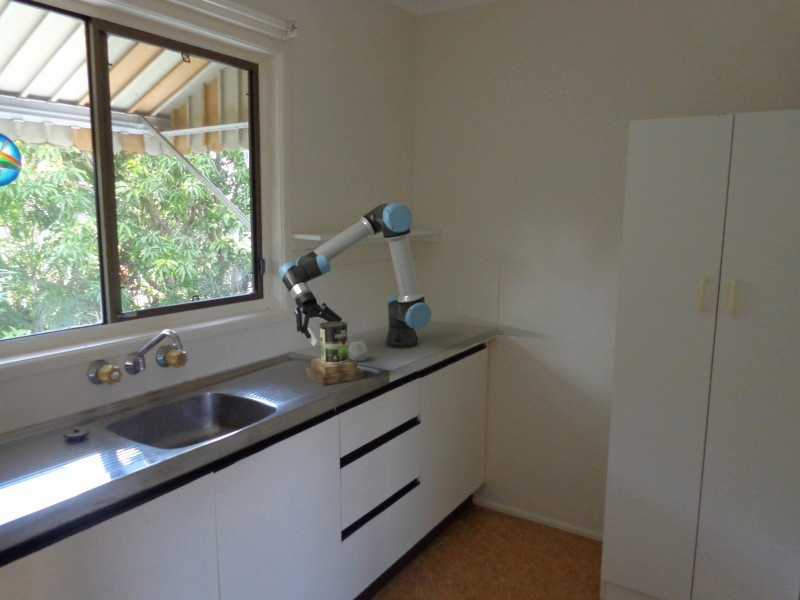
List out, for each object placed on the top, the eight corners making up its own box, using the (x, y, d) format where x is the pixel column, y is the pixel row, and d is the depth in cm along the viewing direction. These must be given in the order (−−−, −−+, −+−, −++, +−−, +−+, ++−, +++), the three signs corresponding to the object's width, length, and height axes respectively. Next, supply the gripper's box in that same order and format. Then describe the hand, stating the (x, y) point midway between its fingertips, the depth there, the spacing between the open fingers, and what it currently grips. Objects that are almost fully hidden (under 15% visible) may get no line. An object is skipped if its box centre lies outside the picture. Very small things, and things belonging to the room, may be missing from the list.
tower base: (344, 368, 230) (344, 353, 229) (363, 378, 216) (363, 362, 215) (306, 375, 222) (305, 359, 221) (323, 385, 208) (322, 369, 207)
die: (360, 365, 236) (372, 345, 237) (341, 354, 237) (354, 334, 238) (361, 367, 244) (373, 347, 245) (343, 357, 245) (355, 337, 246)
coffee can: (354, 359, 219) (353, 322, 217) (335, 365, 211) (333, 327, 209) (334, 355, 225) (332, 320, 223) (315, 361, 217) (313, 324, 215)
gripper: (324, 299, 237) (350, 340, 229) (272, 307, 219) (298, 353, 211) (332, 287, 232) (359, 329, 224) (280, 295, 214) (307, 340, 207)
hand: (330, 341), depth 218 cm, fingers open, 13 cm apart
